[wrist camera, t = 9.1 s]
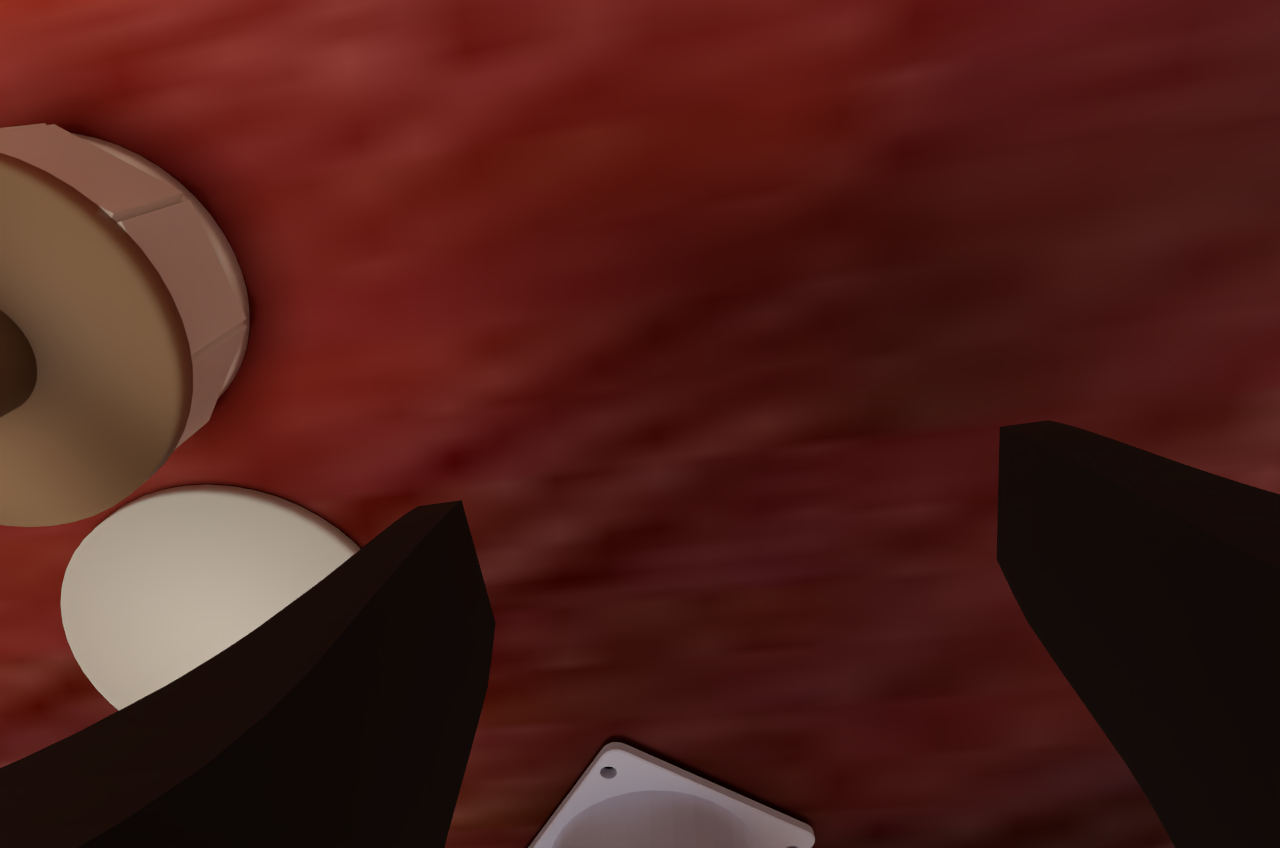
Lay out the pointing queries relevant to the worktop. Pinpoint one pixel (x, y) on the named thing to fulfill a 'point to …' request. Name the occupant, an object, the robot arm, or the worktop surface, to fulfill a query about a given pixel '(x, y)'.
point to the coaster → (187, 581)
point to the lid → (80, 355)
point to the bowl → (158, 245)
